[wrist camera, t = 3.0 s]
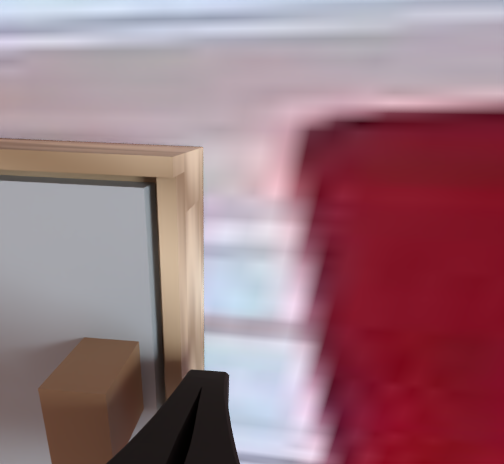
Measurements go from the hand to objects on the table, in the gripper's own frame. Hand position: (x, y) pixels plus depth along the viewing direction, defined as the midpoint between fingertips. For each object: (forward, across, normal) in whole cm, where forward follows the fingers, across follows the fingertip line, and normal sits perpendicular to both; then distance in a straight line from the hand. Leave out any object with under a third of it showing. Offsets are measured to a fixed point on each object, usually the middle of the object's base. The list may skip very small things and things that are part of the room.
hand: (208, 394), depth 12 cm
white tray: (+2, +9, 0) cm, 9 cm away
